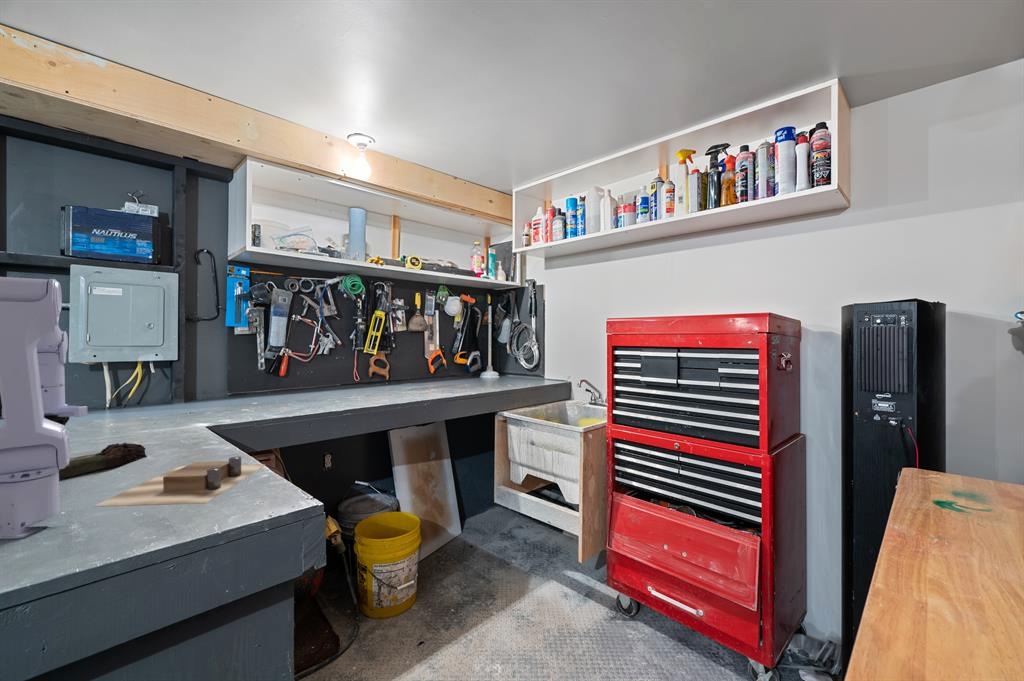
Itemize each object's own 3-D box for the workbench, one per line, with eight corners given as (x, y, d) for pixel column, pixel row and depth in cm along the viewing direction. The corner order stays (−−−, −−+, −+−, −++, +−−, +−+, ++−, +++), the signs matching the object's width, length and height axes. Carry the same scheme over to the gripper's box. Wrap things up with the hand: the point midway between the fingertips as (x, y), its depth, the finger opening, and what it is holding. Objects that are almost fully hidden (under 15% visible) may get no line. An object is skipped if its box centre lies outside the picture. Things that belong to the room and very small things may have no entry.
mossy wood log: (51, 483, 97) (50, 459, 97) (43, 478, 101) (42, 454, 100) (148, 463, 112) (148, 441, 112) (138, 459, 116) (138, 438, 115)
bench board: (205, 510, 82) (205, 482, 82) (92, 514, 80) (92, 485, 80) (265, 470, 106) (265, 448, 106) (180, 472, 104) (179, 449, 104)
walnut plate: (204, 490, 89) (204, 476, 89) (163, 491, 88) (163, 477, 88) (231, 474, 99) (231, 461, 99) (195, 475, 98) (194, 462, 98)
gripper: (99, 383, 93) (100, 445, 93) (26, 384, 92) (27, 446, 92) (69, 388, 86) (70, 455, 86) (-11, 388, 85) (-9, 456, 85)
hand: (46, 451), depth 89 cm, fingers closed
